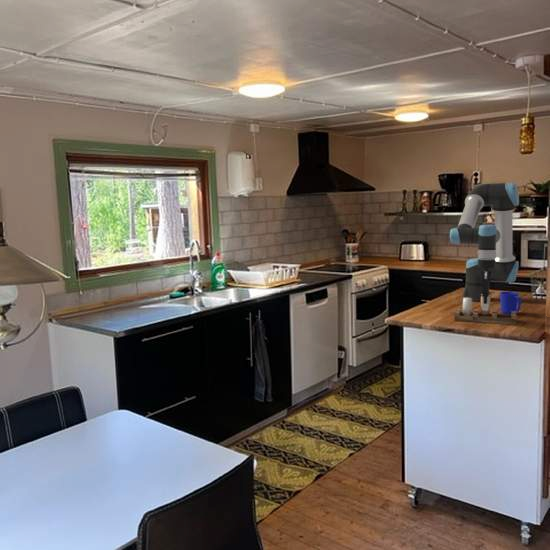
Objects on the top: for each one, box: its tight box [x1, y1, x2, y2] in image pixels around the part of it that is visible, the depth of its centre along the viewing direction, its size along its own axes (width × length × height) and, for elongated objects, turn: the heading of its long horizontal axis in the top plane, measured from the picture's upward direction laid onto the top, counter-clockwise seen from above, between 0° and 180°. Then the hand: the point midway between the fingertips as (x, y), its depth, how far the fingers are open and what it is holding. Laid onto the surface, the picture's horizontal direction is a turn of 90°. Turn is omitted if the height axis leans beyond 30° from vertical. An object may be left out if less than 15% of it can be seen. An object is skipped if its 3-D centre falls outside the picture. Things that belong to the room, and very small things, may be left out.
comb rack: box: [454, 307, 517, 326], centre depth 250 cm, size 10×26×4 cm, turn 66°
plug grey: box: [462, 298, 473, 316], centre depth 253 cm, size 4×4×9 cm
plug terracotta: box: [480, 294, 491, 315], centre depth 249 cm, size 4×4×9 cm
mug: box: [499, 291, 522, 314], centre depth 262 cm, size 8×12×10 cm
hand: (485, 309), depth 250 cm, fingers closed on plug terracotta, 3 cm apart
